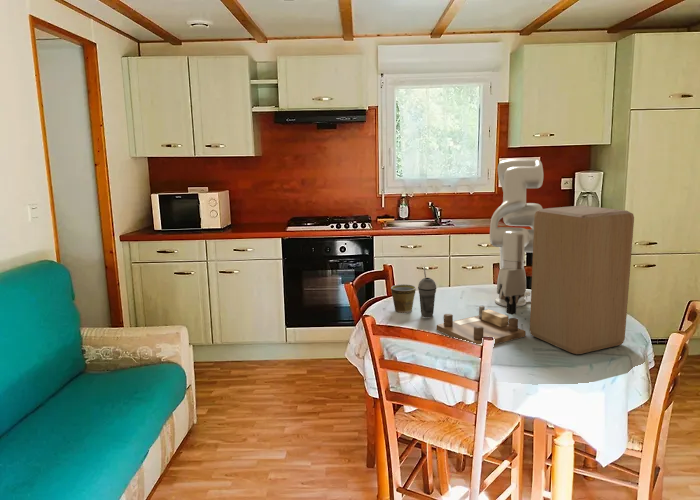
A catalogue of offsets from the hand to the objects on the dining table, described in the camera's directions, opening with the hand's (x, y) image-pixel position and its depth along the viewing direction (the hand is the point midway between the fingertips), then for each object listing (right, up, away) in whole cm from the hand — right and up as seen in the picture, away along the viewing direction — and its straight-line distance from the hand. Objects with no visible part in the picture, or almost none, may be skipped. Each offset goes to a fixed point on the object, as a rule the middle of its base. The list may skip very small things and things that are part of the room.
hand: (511, 313), depth 200 cm
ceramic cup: (-38, -2, +24) cm, 45 cm away
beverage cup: (-29, -3, +16) cm, 33 cm away
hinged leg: (-6, -3, -1) cm, 7 cm away
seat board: (-13, -7, -5) cm, 15 cm away
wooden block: (+18, -8, -14) cm, 24 cm away
